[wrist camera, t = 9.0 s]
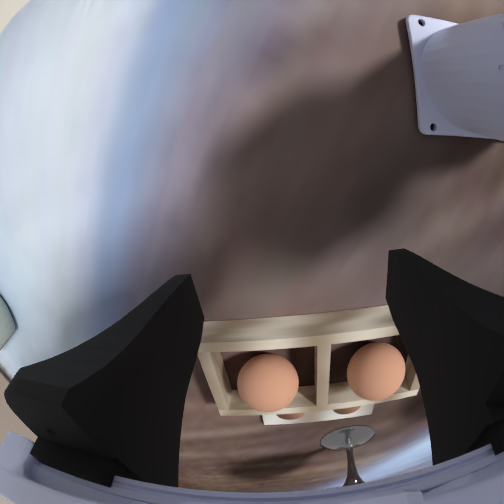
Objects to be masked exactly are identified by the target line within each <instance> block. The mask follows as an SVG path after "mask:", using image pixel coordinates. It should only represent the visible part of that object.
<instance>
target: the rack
mask: <svg viewBox="0 0 504 504" xmlns="http://www.w3.org/2000/svg"><path fill="white" fill-rule="evenodd" d="M394 335H399V332H398V330H397V328H396V326H395V324H394V322H393V319H392V316H391V313H390V310H389V307H388V305H384V306H377V307H369V308H362V309H353V310H345V311H336V312H327V313H317V314H307V315H296V316H284V317H272V318H258V319H243V320H225V321H204V324H203V332H202V338H201V343H200V347H199V350H198V354H197V355H198V358H199V361H200V363H201V366H202V369H203V371H204V374H205V377H206V379H207V382H208V385H209V387H210V390H211V392H212V395H213V397H214V400H215V402H216V405H217V407H218V410H219V412H220V415H262V416H263V421H264V425H273V424H291V423H305V422H316V421H325V420H334V419H342V418H349V417H356V416H363V415H369V414H371V413H372V410H373V406H374V404H375V403H380V402H386V401H391V400H396V399H401V398H405V397H410V396H414V395H417V392H418V390H419V387H420V385H419V382H418V378H417V375H416V372H415V369H414V366H413V364H412V361H411V359H410V357H409V355H408V356H407V360H406V364H405V376H404V380H403V382H402V384H401V386H400V387H399V389H398V390H397V391H396V392H395V393H394V394H392V395H391V396H389V397H388V398H385V399H383V400H378V401H370V400H365V399H363V398H361V397H359V396H357V395H356V394H355V393H354V392H353V391H352V389H351V388H350V386H349V383H348V381H346V382H338V383H330V384H329V374H330V354H331V344H337V343H346V342H354V341H361V340H368V339H375V338H382V337H388V336H394ZM309 346H314V349H315V385H311V386H299V387H298V391H297V394H296V396H295V398H294V399H293V400H292V402H291V403H290V404H289V405H287V406H286V407H285V408H283V409H281V410H279V411H275V412H260V411H257V410H254V409H252V408H251V407H249V406H248V405H247V404H246V403H245V402H244V401H243V400H242V398H241V396H240V394H239V392H238V390H232V389H231V385H230V382H229V379H228V376H227V372H226V369H225V366H224V362H223V359H222V356H221V352H234V351H255V350H272V349H286V348H298V347H309Z"/></svg>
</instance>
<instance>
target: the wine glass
mask: <svg viewBox="0 0 504 504" xmlns="http://www.w3.org/2000/svg"><path fill="white" fill-rule="evenodd" d="M374 435H375V431H374V429H373V428H371V427H368V426H349V427H344V428H341V429H337V430H335V431H332V432H330V433H329V434H327V435H325V436H324V437H323V438H322V440H321V446H322V447H323V448H325V449H328V450H333V451H343V450H346V452H347V459H348V471H347V478H346V481H345V483H344V485H343V486H349V485H355V484H361V483H365V482H364V481H363V480H362V479H361V478H360V476H359V475H358V472H357V469H356V466H355V462H354V457H353V448H357V447H360V446H362V445H364V444H366V443H367V442H369V441H370V440H371V439H372V438H373V437H374Z"/></svg>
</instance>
